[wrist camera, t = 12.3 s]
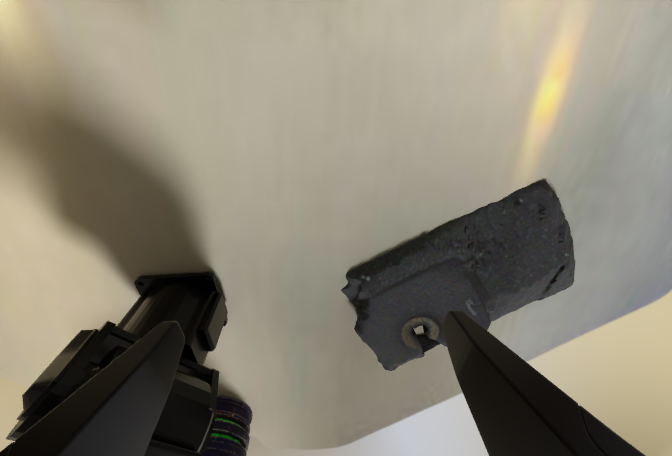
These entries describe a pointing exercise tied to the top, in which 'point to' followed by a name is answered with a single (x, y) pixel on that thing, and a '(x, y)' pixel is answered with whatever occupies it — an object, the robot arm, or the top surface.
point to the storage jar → (230, 428)
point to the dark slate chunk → (463, 273)
